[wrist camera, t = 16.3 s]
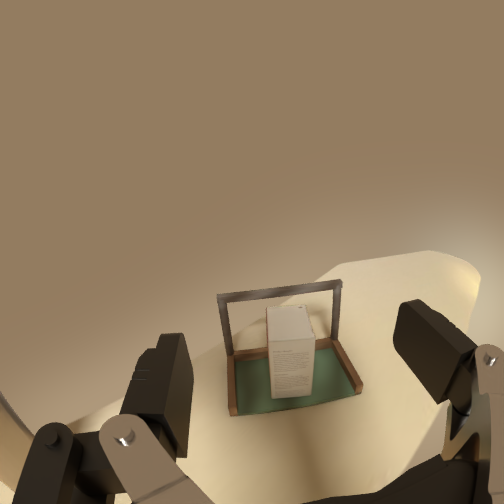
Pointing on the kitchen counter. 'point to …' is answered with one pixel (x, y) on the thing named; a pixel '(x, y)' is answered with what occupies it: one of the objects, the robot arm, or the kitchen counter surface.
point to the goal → (257, 362)
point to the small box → (290, 351)
